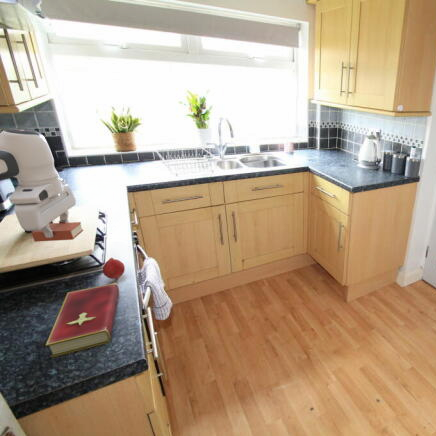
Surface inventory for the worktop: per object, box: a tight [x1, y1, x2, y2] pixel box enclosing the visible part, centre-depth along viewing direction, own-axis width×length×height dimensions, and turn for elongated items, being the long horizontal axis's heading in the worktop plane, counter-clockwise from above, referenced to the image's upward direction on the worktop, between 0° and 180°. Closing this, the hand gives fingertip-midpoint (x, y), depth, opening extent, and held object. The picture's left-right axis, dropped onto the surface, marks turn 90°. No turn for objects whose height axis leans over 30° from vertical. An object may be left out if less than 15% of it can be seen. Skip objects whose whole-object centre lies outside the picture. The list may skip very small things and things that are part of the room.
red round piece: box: [102, 256, 126, 280], centre depth 101 cm, size 6×6×8 cm
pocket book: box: [30, 221, 84, 243], centre depth 96 cm, size 10×6×3 cm, turn 101°
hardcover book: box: [45, 282, 120, 359], centre depth 84 cm, size 12×21×4 cm, turn 26°
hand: (58, 230), depth 96 cm, fingers closed on pocket book, 6 cm apart
